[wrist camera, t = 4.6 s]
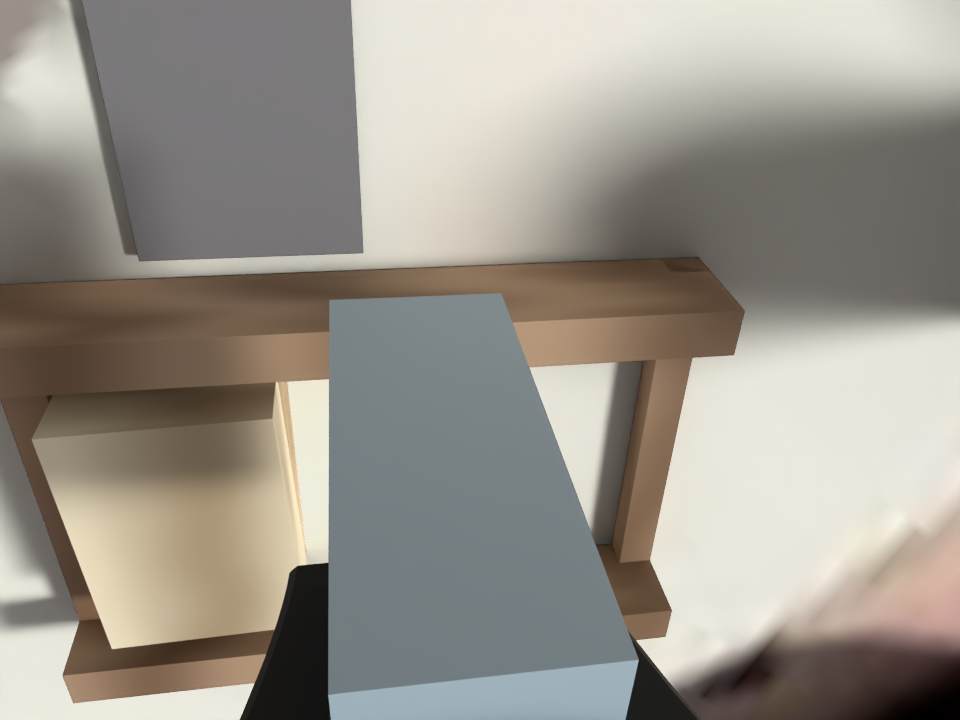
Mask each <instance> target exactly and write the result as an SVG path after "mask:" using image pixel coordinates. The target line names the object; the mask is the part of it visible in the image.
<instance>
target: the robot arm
mask: <svg viewBox="0 0 960 720" xmlns="http://www.w3.org/2000/svg"><path fill="white" fill-rule="evenodd" d="M328 606H329V563H323V564H311V565H300V566H297V567H295V568H294V569H293V570H292V571H291V572H290V573H289V578H288V583H287V588H286V592H285V596H284V600H283V604H282V607H281V611H280V614H279V617H278V621H277V624H276V627H275V630H274V633H273V636H272V639H271V642H270V644H269V647H268V650H267V653H266V656H265V659H264V661H263V664H262V666H261V669H260V671H259V674H258V676H257V679H256V681H255V684H254V686H253V689H252V691H251V694H250V696H249V699H248V701H247V704H246V706H245V709H244V711H243V714H242V716H241V718H240V720H331V717H330V707H329V697H328ZM627 630H628V629H627ZM628 632H629V631H628ZM629 635H630V638H631V640H632V643H633V646H634V648H635V651H636V654H637V656H638V659H639V661H638V666H637V670H636V675H635V679H634V684H633V688H632V693H631V697H630V701H629V706H628V710H627V715H626V719H625V720H701V719H700V718H699V717H698V716H697V714H696V713H695V712H694V711H693V710H692V709H691V707H690V706H689V705H688V704H687V703H686V702H685V701H684V699H683V698H682V697H681V696H680V695H679V694H678V692H677V691H676V690H675V689H674V688H673V686H672V685H671V684H670V683H669V682H668V680H667V679H666V678H665V677H664V676H663V674H662V673H661V672H660V670H659V669H658V668H657V667H656V665H655V664H654V663H653V662H652V660H651V659H650V658H649V657H648V655H647V654H646V653H645V651H644V650H643V649H642V648H641V646H640V645H639V644H638V643H637V641H636V640H635V639H634V637H633V636H632V635H631V633H630V632H629Z"/></svg>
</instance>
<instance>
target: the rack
mask: <svg viewBox="0 0 960 720" xmlns="http://www.w3.org/2000/svg"><path fill="white" fill-rule="evenodd" d="M494 293H501V294H502V297H503V299H504V302H505V305H506V307H507V310H508V313H509V315H510V318H511V321H512V323H513V326H514V329H515V331H516V334H517V337H518V339H519V342H520V345H521V347H522V350H523V353H524V355H525V358H526V361H527V363H528V366H529V367H541V366H558V365H575V364H592V363H609V362H626V361H643V360H644V361H643V367H642V373H641V379H640V384H639V390H638V396H637V402H636V408H635V414H634V419H633V425H632V431H631V437H630V443H629V449H628V454H627V460H626V466H625V472H624V478H623V483H622V489H621V495H620V501H619V507H618V513H617V518H616V524H615V530H614V536H613V542H612V545H601V546H596V547H597V550H598V552H599V555H600V558H601V560H602V563H603V566H604V568H605V571H606V574H607V576H608V579H609V582H610V584H611V587H612V590H613V592H614V595H615V598H616V600H617V603H618V606H619V608H620V611H621V614H622V616H623V619H624V622H625V624H626V627H627V629H628V631H629V632H630V633H631V635H632V636H633V637H634V639H635V640H641V639H650V638H659V637H665V636H666V632H667V628H668V624H669V620H670V616H671V612H672V610H671V607H670V605H669V603H668V601H667V598H666V596H665V594H664V592H663V589H662V587H661V585H660V582H659V580H658V578H657V576H656V573H655V571H654V569H653V566H652V564H651V562H650V556H651V551H652V547H653V542H654V537H655V532H656V528H657V523H658V518H659V513H660V509H661V504H662V499H663V494H664V490H665V485H666V480H667V475H668V471H669V466H670V461H671V456H672V452H673V447H674V442H675V437H676V433H677V428H678V423H679V418H680V414H681V409H682V404H683V399H684V395H685V390H686V385H687V380H688V376H689V371H690V366H691V361H692V358H694V357H711V356H728V355H734V353H735V349H736V345H737V341H738V337H739V332H740V328H741V324H742V320H743V316H744V312H745V310H744V309H743V308H742V307H741V306H740V305H739V304H738V302H737V301H736V300H735V299H734V298H733V297H732V295H731V294H730V293H729V292H728V291H727V290H726V289H725V287H724V286H723V285H722V284H721V283H720V282H719V281H718V279H717V278H716V277H715V276H714V275H713V274H712V272H711V271H710V270H709V269H708V268H707V267H706V266H705V264H704V263H703V262H702V261H701V260H700V259H699V257H691V258H666V259H640V260H615V261H590V262H564V263H539V264H514V265H488V266H463V267H438V268H413V269H387V270H362V271H337V272H311V273H286V274H261V275H236V276H210V277H185V278H160V279H134V280H109V281H84V282H59V283H33V284H8V285H0V400H1V402H2V405H3V408H4V411H5V414H6V416H7V419H8V422H9V425H10V428H11V430H12V433H13V436H14V439H15V442H16V444H17V447H18V450H19V453H20V455H21V458H22V461H23V464H24V467H25V469H26V472H27V475H28V478H29V481H30V483H31V486H32V489H33V492H34V494H35V497H36V500H37V503H38V506H39V508H40V511H41V514H42V517H43V520H44V522H45V525H46V528H47V531H48V533H49V536H50V539H51V542H52V545H53V547H54V550H55V553H56V556H57V559H58V561H59V564H60V567H61V570H62V572H63V575H64V578H65V581H66V584H67V586H68V589H69V592H70V595H71V598H72V600H73V603H74V606H75V609H76V611H77V614H78V617H79V620H80V622H79V625H78V628H77V632H76V635H75V638H74V641H73V644H72V647H71V650H70V654H69V657H68V660H67V663H66V666H65V669H64V672H63V678H64V681H65V683H66V686H67V688H68V691H69V693H70V696H71V699H72V701H73V703H79V702H88V701H97V700H106V699H115V698H124V697H133V696H142V695H151V694H160V693H169V692H178V691H186V690H195V689H204V688H213V687H222V686H231V685H240V684H249V683H255V681H256V679H257V676H258V674H259V671H260V669H261V666H262V664H263V661H264V659H265V656H266V653H267V650H268V647H269V644H270V642H271V639H272V636H273V633H274V630H267V631H259V632H251V633H242V634H234V635H226V636H217V637H209V638H201V639H193V640H184V641H176V642H168V643H159V644H151V645H143V646H134V647H126V648H118V649H112V648H111V645H110V643H109V640H108V638H107V635H106V632H105V630H104V627H103V625H102V622H101V619H100V617H99V614H98V612H97V609H96V606H95V604H94V601H93V599H92V596H91V593H90V591H89V588H88V586H87V583H86V580H85V578H84V575H83V572H82V570H81V567H80V565H79V562H78V559H77V557H76V554H75V552H74V549H73V546H72V544H71V541H70V539H69V536H68V533H67V531H66V528H65V526H64V523H63V520H62V518H61V515H60V513H59V510H58V507H57V505H56V502H55V499H54V497H53V494H52V492H51V489H50V486H49V484H48V481H47V479H46V476H45V473H44V471H43V468H42V466H41V463H40V460H39V458H38V455H37V453H36V450H35V447H34V445H33V442H32V440H31V439H32V437H33V435H34V433H35V431H36V429H37V427H38V425H39V423H40V421H41V419H42V417H43V415H44V413H45V411H46V409H47V407H48V405H49V402H50V400H51V398H52V396H53V395H66V394H83V393H99V392H116V391H133V390H150V389H167V388H184V387H201V386H218V385H235V384H252V383H269V382H286V381H303V380H320V379H329V300H345V299H370V298H394V297H419V296H444V295H469V294H494Z"/></svg>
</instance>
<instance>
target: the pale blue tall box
mask: <svg viewBox="0 0 960 720" xmlns="http://www.w3.org/2000/svg"><path fill="white" fill-rule="evenodd" d="M638 661H639V659H638V656H637V654H636V651H635V648H634V646H633V643H632V640H631V638H630V635H629V632H628V630H627V627H626V624H625V622H624V619H623V616H622V614H621V611H620V608H619V606H618V603H617V600H616V598H615V595H614V592H613V590H612V587H611V584H610V582H609V579H608V576H607V574H606V571H605V568H604V566H603V563H602V560H601V558H600V555H599V552H598V550H597V547H596V544H595V542H594V539H593V536H592V534H591V531H590V528H589V526H588V523H587V520H586V518H585V515H584V512H583V510H582V507H581V504H580V502H579V499H578V496H577V494H576V491H575V488H574V486H573V483H572V480H571V478H570V475H569V472H568V470H567V467H566V464H565V462H564V459H563V456H562V454H561V451H560V448H559V446H558V443H557V440H556V438H555V435H554V433H553V430H552V427H551V425H550V422H549V419H548V417H547V414H546V411H545V409H544V406H543V403H542V401H541V398H540V395H539V393H538V390H537V387H536V385H535V382H534V379H533V377H532V374H531V371H530V369H529V366H528V363H527V361H526V358H525V355H524V353H523V350H522V347H521V345H520V342H519V339H518V337H517V334H516V331H515V329H514V326H513V323H512V321H511V318H510V315H509V313H508V310H507V307H506V305H505V302H504V299H503V297H502V294H501V293H494V294H469V295H444V296H419V297H394V298H370V299H345V300H329V606H328V697H329V707H330V717H331V720H625V719H626V715H627V710H628V706H629V701H630V697H631V693H632V688H633V684H634V679H635V675H636V670H637V666H638Z"/></svg>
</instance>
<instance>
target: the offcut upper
mask: <svg viewBox="0 0 960 720" xmlns="http://www.w3.org/2000/svg"><path fill="white" fill-rule="evenodd" d="M31 440H32V442H33V445H34V447H35V450H36V453H37V455H38V458H39V460H40V463H41V466H42V468H43V471H44V473H45V476H46V479H47V481H48V484H49V486H50V489H51V492H52V494H53V497H54V499H55V502H56V505H57V507H58V510H59V513H60V515H61V518H62V520H63V523H64V526H65V528H66V531H67V533H68V536H69V539H70V541H71V544H72V546H73V549H74V552H75V554H76V557H77V559H78V562H79V565H80V567H81V570H82V572H83V575H84V578H85V580H86V583H87V586H88V588H89V591H90V593H91V596H92V599H93V601H94V604H95V606H96V609H97V612H98V614H99V617H100V619H101V622H102V625H103V627H104V630H105V632H106V635H107V638H108V640H109V643H110V645H111V648H112V649H118V648H126V647H134V646H143V645H151V644H159V643H168V642H176V641H184V640H193V639H201V638H209V637H217V636H226V635H234V634H242V633H251V632H259V631H267V630H275V627H276V624H277V621H278V617H279V614H280V611H281V607H282V604H283V600H284V596H285V592H286V588H287V583H288V578H289V573H290V572H291V571H292V570H293V569H294V568H295V567H297V566H300V565H307V561H306V555H305V548H304V542H303V536H302V529H301V523H300V517H299V511H298V504H297V498H296V492H295V485H294V479H293V473H292V466H291V460H290V454H289V448H288V441H287V435H286V429H285V422H284V416H283V410H282V403H281V397H280V391H279V384H278V382H269V383H252V384H235V385H218V386H201V387H184V388H167V389H150V390H133V391H116V392H99V393H83V394H66V395H53V396H52V398H51V400H50V402H49V405H48V407H47V409H46V411H45V413H44V415H43V417H42V419H41V421H40V423H39V425H38V427H37V429H36V431H35V433H34V435H33V437H32V439H31Z"/></svg>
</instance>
